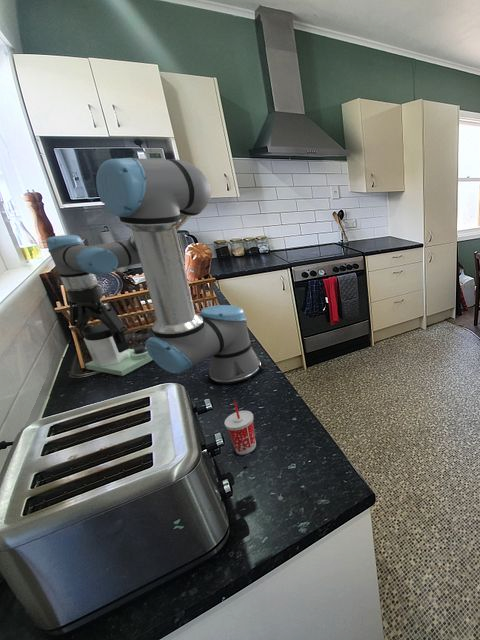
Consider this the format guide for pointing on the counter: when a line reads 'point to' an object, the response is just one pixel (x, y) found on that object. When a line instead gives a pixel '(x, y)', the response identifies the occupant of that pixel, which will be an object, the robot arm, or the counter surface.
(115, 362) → the jar
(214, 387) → the counter surface
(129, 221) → the robot arm
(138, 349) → the tare button
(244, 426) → the beverage cup
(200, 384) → the counter surface
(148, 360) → the scale
